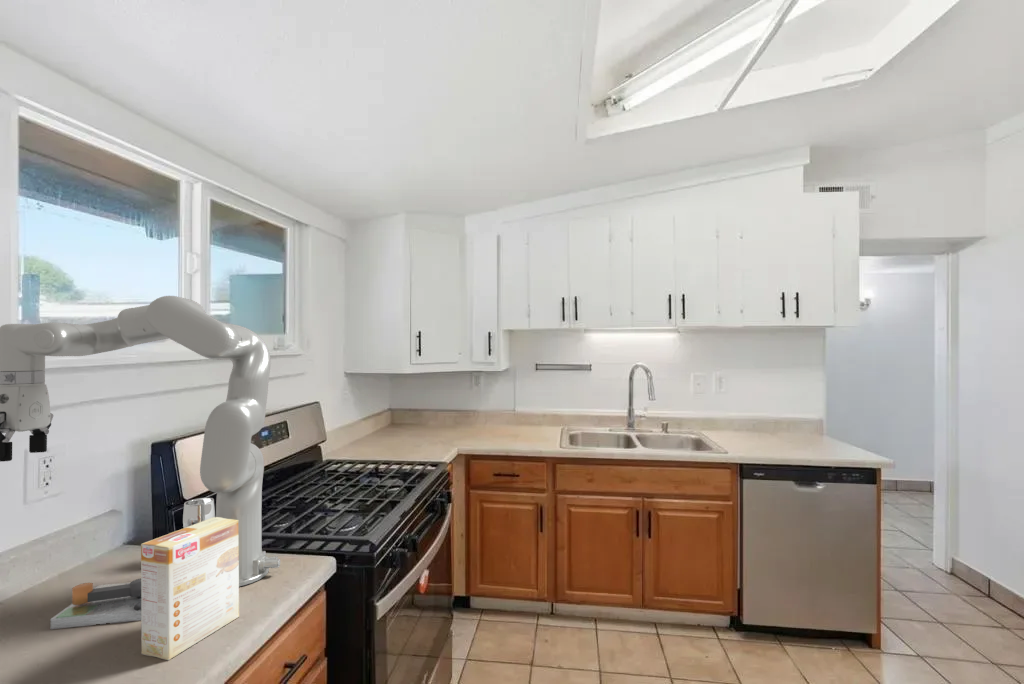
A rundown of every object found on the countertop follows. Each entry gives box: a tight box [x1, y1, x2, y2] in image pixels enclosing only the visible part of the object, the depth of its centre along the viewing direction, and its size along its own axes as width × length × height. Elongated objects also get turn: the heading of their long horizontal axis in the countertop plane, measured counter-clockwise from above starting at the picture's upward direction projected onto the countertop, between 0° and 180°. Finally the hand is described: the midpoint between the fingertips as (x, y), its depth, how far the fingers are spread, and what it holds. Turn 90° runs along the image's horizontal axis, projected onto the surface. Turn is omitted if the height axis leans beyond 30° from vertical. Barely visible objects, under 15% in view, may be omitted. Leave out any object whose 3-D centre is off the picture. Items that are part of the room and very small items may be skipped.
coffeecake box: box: [140, 516, 240, 661], centre depth 93 cm, size 15×7×20 cm, turn 162°
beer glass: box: [182, 497, 216, 529], centre depth 128 cm, size 7×7×15 cm
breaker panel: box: [50, 582, 141, 630], centre depth 104 cm, size 16×14×2 cm
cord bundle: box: [134, 601, 141, 611], centre depth 105 cm, size 4×17×3 cm, turn 10°
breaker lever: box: [71, 578, 141, 605], centre depth 103 cm, size 13×4×3 cm, turn 108°
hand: (20, 456), depth 110 cm, fingers open, 9 cm apart
